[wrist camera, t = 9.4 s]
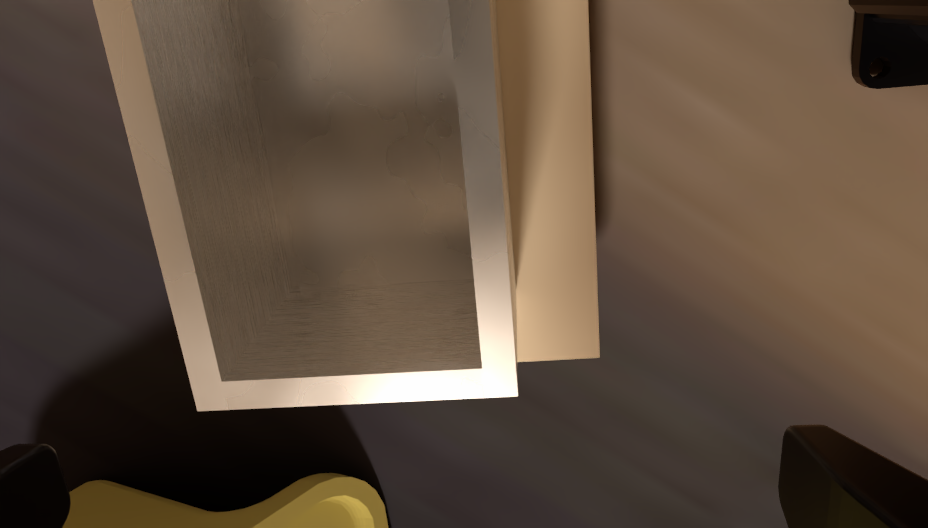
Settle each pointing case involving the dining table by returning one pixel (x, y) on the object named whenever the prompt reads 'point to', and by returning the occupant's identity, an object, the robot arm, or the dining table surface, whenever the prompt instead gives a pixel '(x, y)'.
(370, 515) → the plastic component
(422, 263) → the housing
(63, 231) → the dining table surface
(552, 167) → the stand
